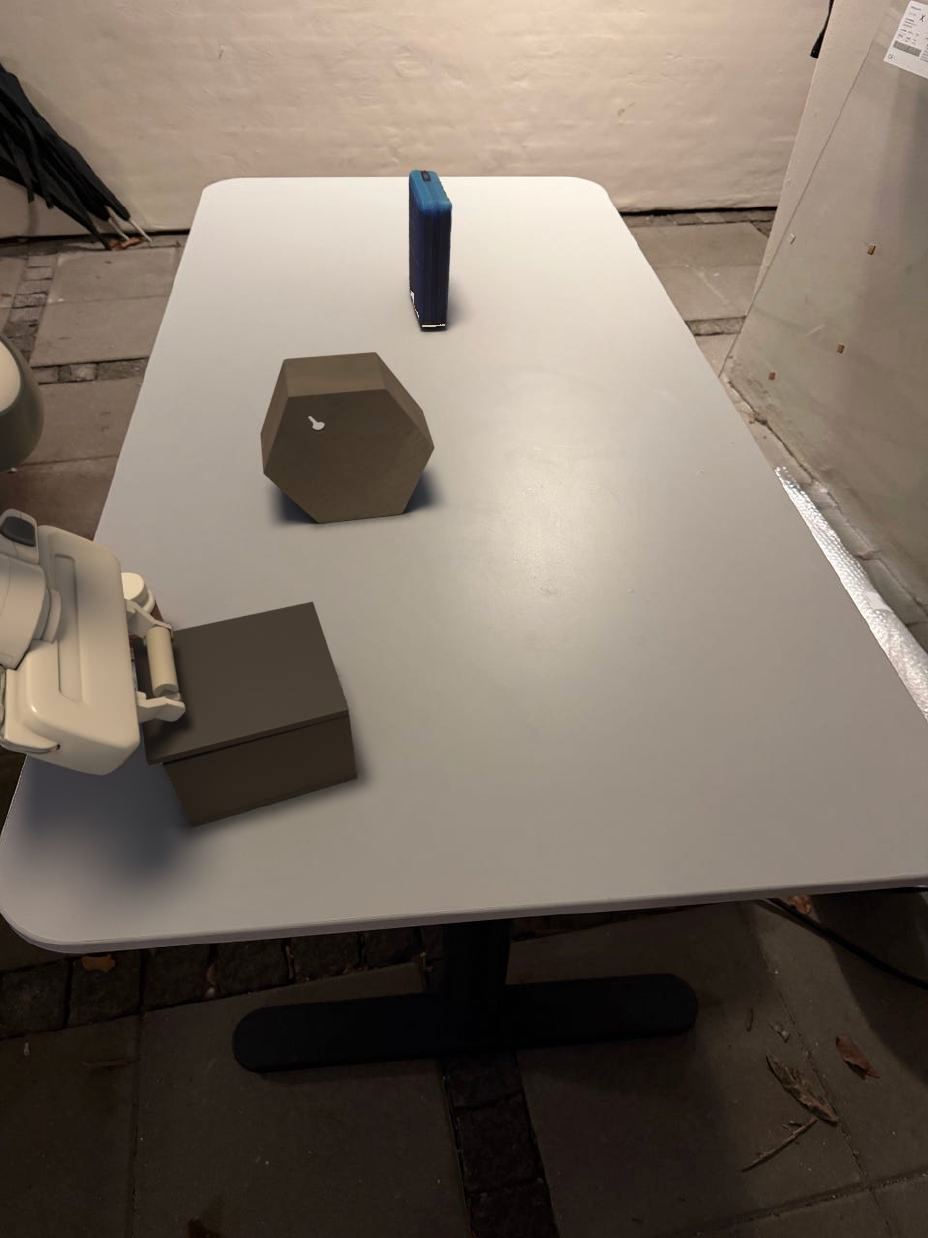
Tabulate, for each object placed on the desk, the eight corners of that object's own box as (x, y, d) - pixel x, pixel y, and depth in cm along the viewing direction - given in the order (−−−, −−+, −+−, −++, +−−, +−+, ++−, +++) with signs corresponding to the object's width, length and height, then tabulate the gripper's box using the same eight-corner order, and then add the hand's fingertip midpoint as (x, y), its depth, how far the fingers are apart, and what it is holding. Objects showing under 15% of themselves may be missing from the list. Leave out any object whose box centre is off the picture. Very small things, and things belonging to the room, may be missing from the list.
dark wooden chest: (191, 827, 66) (162, 767, 59) (174, 712, 74) (146, 646, 67) (357, 778, 70) (349, 715, 63) (324, 674, 78) (313, 607, 70)
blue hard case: (405, 293, 134) (403, 165, 119) (436, 291, 135) (437, 164, 120) (418, 334, 125) (417, 201, 110) (451, 332, 125) (454, 199, 111)
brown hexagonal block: (446, 439, 97) (345, 313, 83) (459, 476, 92) (354, 349, 78) (339, 509, 102) (225, 401, 87) (346, 548, 97) (227, 441, 82)
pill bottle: (146, 620, 82) (123, 562, 75) (179, 638, 80) (159, 581, 74) (111, 649, 79) (84, 591, 73) (145, 669, 77) (120, 612, 71)
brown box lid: (148, 766, 58) (131, 728, 55) (134, 645, 66) (118, 604, 62) (349, 715, 63) (346, 675, 59) (313, 607, 70) (308, 566, 67)
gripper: (8, 709, 44) (218, 755, 54) (12, 493, 56) (181, 562, 66) (-45, 774, 46) (166, 806, 56) (-29, 551, 59) (140, 609, 68)
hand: (174, 672), depth 61 cm, fingers closed on brown box lid, 6 cm apart
